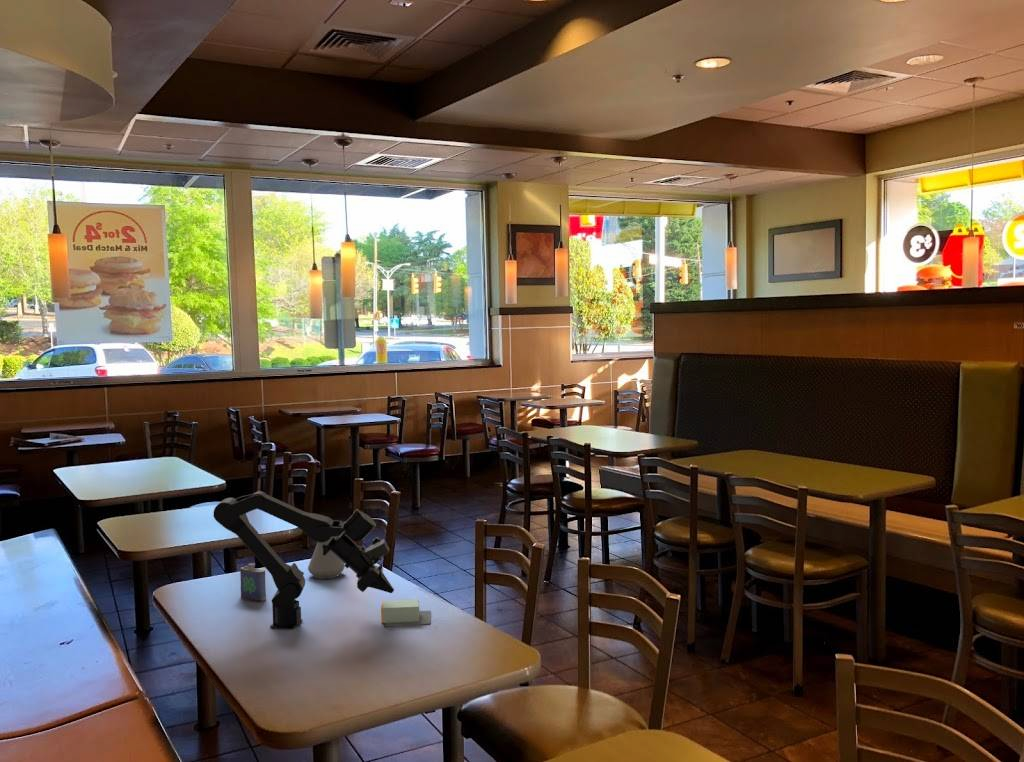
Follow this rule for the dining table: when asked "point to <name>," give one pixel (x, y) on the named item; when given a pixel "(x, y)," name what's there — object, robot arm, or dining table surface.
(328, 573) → the coffee pot
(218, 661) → the dining table surface
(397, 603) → the block
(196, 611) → the dining table surface
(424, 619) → the mat
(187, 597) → the dining table surface
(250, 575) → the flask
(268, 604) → the dining table surface
